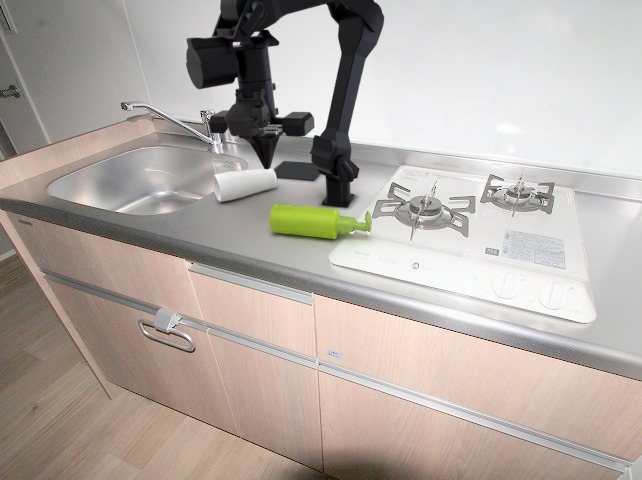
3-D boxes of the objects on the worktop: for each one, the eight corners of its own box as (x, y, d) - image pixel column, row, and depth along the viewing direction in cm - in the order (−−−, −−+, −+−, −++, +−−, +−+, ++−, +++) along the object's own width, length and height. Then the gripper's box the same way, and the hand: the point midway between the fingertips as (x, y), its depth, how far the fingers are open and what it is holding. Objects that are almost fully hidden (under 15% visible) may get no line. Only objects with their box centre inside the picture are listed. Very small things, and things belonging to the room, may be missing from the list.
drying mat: (313, 181, 98) (313, 179, 97) (266, 177, 102) (266, 175, 101) (327, 165, 107) (327, 163, 106) (284, 162, 111) (284, 160, 110)
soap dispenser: (274, 194, 73) (372, 202, 68) (283, 215, 79) (374, 224, 74) (265, 217, 70) (367, 227, 65) (275, 237, 76) (369, 248, 71)
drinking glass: (274, 194, 97) (219, 206, 91) (266, 171, 97) (210, 181, 91) (281, 184, 91) (222, 196, 84) (272, 159, 91) (213, 169, 85)
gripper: (179, 89, 58) (203, 181, 67) (288, 89, 53) (297, 189, 62) (216, 77, 66) (232, 160, 76) (312, 76, 61) (317, 166, 70)
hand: (267, 168), depth 71 cm, fingers closed
